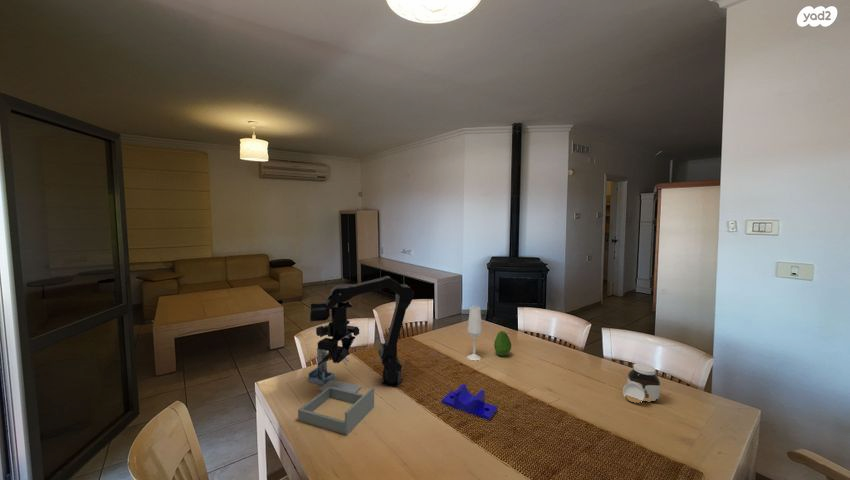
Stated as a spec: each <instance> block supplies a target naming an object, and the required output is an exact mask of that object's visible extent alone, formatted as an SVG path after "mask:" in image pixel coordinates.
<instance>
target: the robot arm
mask: <svg viewBox="0 0 850 480" xmlns="http://www.w3.org/2000/svg"><path fill="white" fill-rule="evenodd" d="M386 288H387V289H388V290H390V291H392V292H393V293H394V294H395V297H394V298H395V300H394V301H395V307H394V311H393V315H392V318H391V322H390V327H389V328H388V329H389V330H388V334H387V336H386V340H385V342H384V343H383V342H380V344H379V345H380V346H379V349H378V351H377V353H378V356H379V359H380V362H381V365H382V366H384V367H383V370H382V380H383V381H382V382H381V385H383V386H384V385H385V386H390V387H393V388H397V387H398V386H399V385H400V384H401V383H402V382H403V380H404V379H403V377H402V368H403V365H402V363H401V361H400V359H399V358H398V341H399V338H400V334H401V330H402V326H403V323H404V319H405V315H406V312H407V309H408V307H409V306H410V305H411V302H412V301H413V299H414V295H415V292H414V290H413V289H412V288H411V287H410V286H408V284H406V283H399V282H398V281H397V280H395V279H393V278H391V277H390V276H389V275H385V276H382V277H378V278H374V279H370V280H366V281H362V282H358V283H343V284H341V283H340V284H336V285H334V286H333V287H332V288H331V290H330V295H329V296H328V297H327V299H326V301H323V302H311V303H310V316H309V317H310V318H309V319H310V322H311V323H313V322H324V321H325V322H326V321H327V320H328V319H329V318H330V316H331V318H330V319H331V321H330V322H329V323H328V324H326V325H324V326H323V325H320V326H317V327H316V328H315V335H316V336H317V337H320V338H322V337H324V336H327V337H324V338H323V339H320V340H319V341H317V348H318V349H321V350H326V351H327V352H328V353H330V355H331V358H330V359H332V362H333V364H338V363H337V359H338V355H339V351H340V347H345V348H346V349H347V350H348V351H349V350H350V348H351V346H352V344H353V342H354V340H355V339H356V337H357V336H358V335H359V334H360V328H359V327H358V326H354V325H349V324H350V320H348V308H353V304H352V303H351V301H349V300H351V299H353V298H354V297H356V296H360V295H362V294H363V295H364V294H367V293H371V292H375V291H379V290H382V289H383V290H384V289H386ZM330 310H331V313H330ZM330 314H331V315H330ZM330 337H331V338H330ZM340 341H341V346H340V345H339V342H340ZM349 352H350V351H349Z"/></svg>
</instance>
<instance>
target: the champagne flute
mask: <svg viewBox="0 0 850 480" xmlns="http://www.w3.org/2000/svg"><path fill="white" fill-rule="evenodd" d="M482 328H483V327H482V311H481V307H480V306H477V305H476V306H475V305H474V306H470V307H469V315H468V322H467V333H468V335H469V336H470V337H471V338H473V340H472V354H469V355H467V356H466V359H467V358H468V359H467V360H469V359H470V360H469V361H471V360H475V361H474V362H477V361H476V360H479V361H481V360H482V357H481V356H479V355H478V354H477V353H476V344H477V343H476V339H477V338H478V337H480V335H481V334H482V333H483V329H482ZM480 359H481V360H480Z"/></svg>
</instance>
